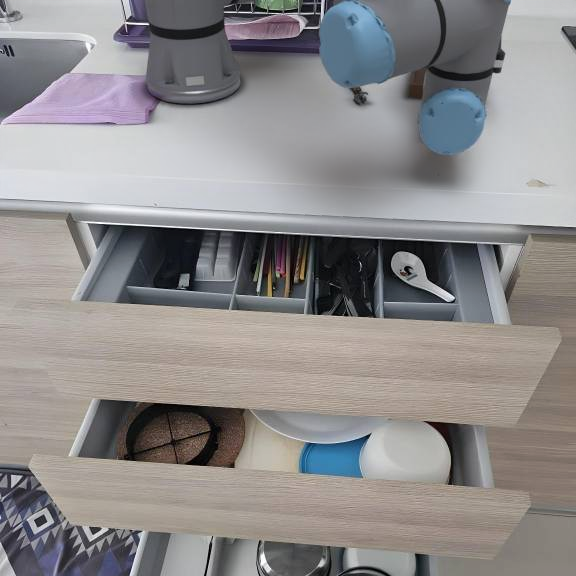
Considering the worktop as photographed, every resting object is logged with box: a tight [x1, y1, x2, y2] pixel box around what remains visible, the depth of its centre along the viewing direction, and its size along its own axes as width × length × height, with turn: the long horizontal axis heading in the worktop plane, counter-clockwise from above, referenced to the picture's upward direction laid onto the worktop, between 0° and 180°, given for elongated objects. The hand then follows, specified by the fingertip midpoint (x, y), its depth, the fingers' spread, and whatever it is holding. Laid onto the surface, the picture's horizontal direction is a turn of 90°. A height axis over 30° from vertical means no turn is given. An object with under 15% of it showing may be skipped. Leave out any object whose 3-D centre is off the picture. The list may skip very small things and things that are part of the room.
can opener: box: [352, 86, 369, 104], centre depth 93 cm, size 9×2×1 cm, turn 6°
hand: (455, 22), depth 92 cm, fingers closed on pill bottle, 6 cm apart
